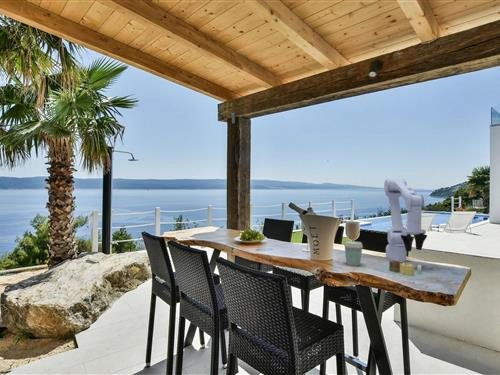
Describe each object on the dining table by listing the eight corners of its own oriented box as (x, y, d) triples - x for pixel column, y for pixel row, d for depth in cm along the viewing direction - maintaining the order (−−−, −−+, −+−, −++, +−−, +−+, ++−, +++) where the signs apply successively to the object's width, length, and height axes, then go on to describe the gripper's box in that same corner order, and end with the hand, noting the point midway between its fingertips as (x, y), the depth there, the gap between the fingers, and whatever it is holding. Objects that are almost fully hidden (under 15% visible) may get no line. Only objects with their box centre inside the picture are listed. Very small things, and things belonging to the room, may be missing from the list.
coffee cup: (366, 269, 142) (366, 243, 142) (349, 269, 141) (349, 244, 141) (356, 264, 150) (357, 240, 150) (340, 265, 149) (341, 240, 149)
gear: (386, 270, 136) (386, 261, 136) (393, 268, 138) (394, 260, 138) (397, 273, 131) (398, 263, 131) (405, 271, 133) (405, 262, 133)
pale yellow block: (399, 274, 129) (399, 264, 129) (400, 271, 134) (400, 262, 134) (413, 276, 126) (413, 266, 126) (414, 273, 131) (414, 264, 131)
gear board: (367, 270, 140) (368, 259, 140) (390, 266, 148) (390, 256, 148) (413, 283, 121) (413, 271, 121) (436, 278, 129) (436, 267, 129)
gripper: (412, 222, 133) (411, 253, 133) (432, 221, 140) (431, 250, 140) (397, 220, 139) (397, 250, 139) (417, 219, 146) (417, 247, 146)
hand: (413, 250), depth 140 cm, fingers open, 7 cm apart
